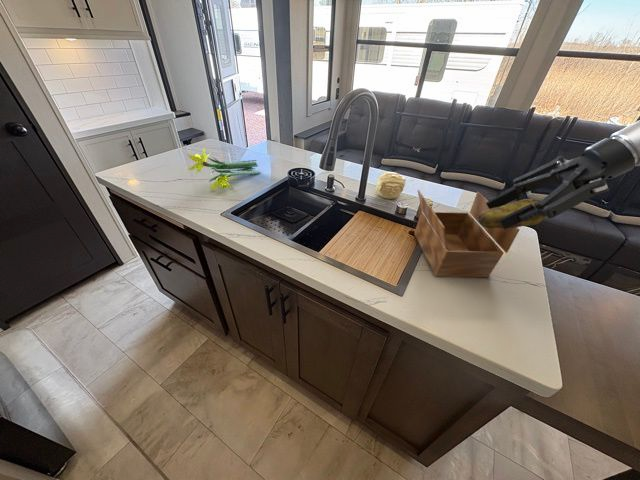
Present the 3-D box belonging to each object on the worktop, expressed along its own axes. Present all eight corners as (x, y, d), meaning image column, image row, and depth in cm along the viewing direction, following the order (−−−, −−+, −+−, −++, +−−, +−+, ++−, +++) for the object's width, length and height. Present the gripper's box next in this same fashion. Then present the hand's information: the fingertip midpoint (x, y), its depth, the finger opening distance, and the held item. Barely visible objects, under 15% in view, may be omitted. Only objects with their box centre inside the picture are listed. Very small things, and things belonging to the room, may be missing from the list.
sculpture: (376, 201, 110) (381, 177, 103) (373, 188, 119) (377, 166, 112) (403, 202, 109) (409, 179, 103) (397, 189, 119) (403, 167, 112)
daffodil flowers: (271, 179, 125) (213, 186, 96) (251, 188, 133) (191, 197, 104) (259, 145, 123) (195, 142, 93) (240, 156, 130) (175, 157, 101)
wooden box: (491, 277, 75) (522, 229, 65) (435, 276, 75) (457, 228, 64) (460, 234, 92) (480, 191, 81) (414, 233, 91) (428, 190, 81)
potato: (473, 213, 67) (486, 185, 62) (530, 225, 63) (548, 197, 58) (475, 230, 61) (489, 201, 56) (537, 244, 57) (559, 215, 52)
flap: (445, 227, 64) (443, 228, 64) (448, 249, 69) (446, 249, 69) (418, 189, 81) (417, 190, 81) (422, 209, 85) (421, 209, 85)
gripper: (674, 189, 42) (521, 252, 54) (590, 149, 58) (485, 205, 69) (667, 155, 40) (507, 229, 51) (580, 123, 55) (473, 185, 67)
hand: (494, 215), depth 60 cm, fingers closed on potato, 7 cm apart
